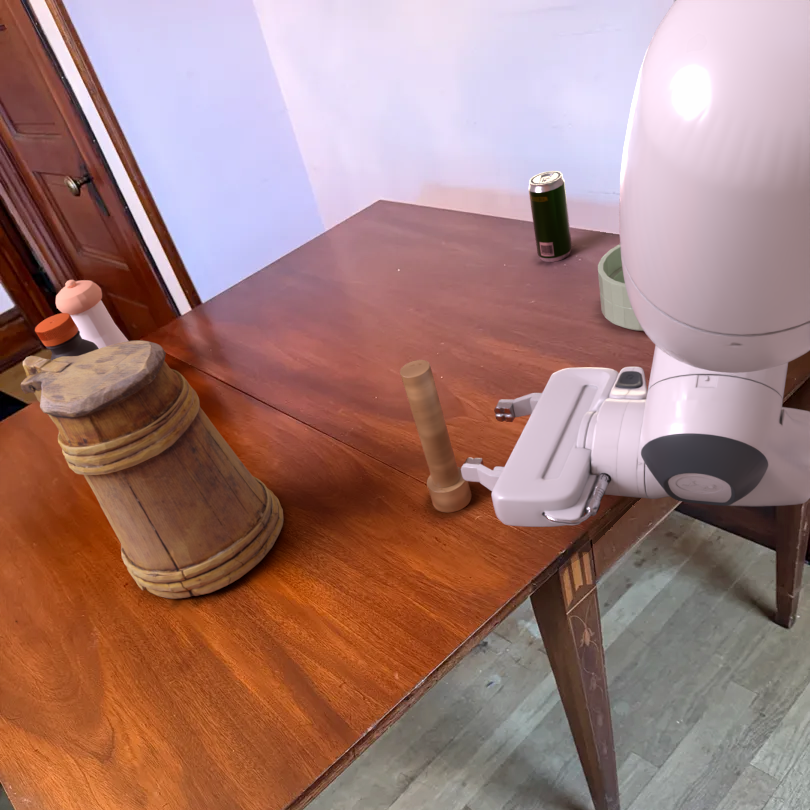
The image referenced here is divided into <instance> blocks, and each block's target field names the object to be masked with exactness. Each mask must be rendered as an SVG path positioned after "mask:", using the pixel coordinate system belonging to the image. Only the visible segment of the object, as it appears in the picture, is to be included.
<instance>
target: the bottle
mask: <svg viewBox="0 0 810 810" xmlns="http://www.w3.org/2000/svg"><path fill="white" fill-rule="evenodd" d="M34 332H35V334H36V335H37V337H38V339H39V340H40V341H41V343H42V344H43V346H45V348H46V349H47V350H50V352H51V357H50V360H54V359H56V358H59V357H65V356H80V355H83V354H86V353H89V352H91V351H94V350H97V349H99V348H98V347H97V345H96V344H95V343H93V342H91V341H88V340H85V339H82V338H81V336H80V331H79V330H78V327H77V326H76V324H75V322H74V321H73V319H72V318H71V316H70V314H68V313H62V312H60V313H57V314H53V315H50V316H49V317H47V318H45V319H44V320H42V321H41V322H39V323H38V324H37V325H36V326H35V327H34Z"/></svg>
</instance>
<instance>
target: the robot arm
mask: <svg viewBox="0 0 810 810" xmlns="http://www.w3.org/2000/svg"><path fill="white" fill-rule="evenodd" d="M651 37H652V38H651V40H650V42H649V44H648V47H647V49H646V51H645V55H644V56H643V60H642V63H641V66H640V69H639V72H638V77H637V81H636V85H635V88H634V93H633V98H632V101H631V106H630V111H629V116H628V122H627V128H626V133H625V139H624V144H623V151H622V158H621V165H620V166H621V168H620V177H619V200H618V231H619V244H620V248H621V260H622V268H623V275H624V281H625V286H626V290H627V294H628V297H629V301H630V304H631V306H632V309H633V311H634V314H635V316H636V318H637V320H638V322H639V324H640V325H641V327H642V329H643V330H644V331H643V332H644V333H645V335H646V336H647V337H648V338H649V340H650V341H651V342H652V343H653V344H654V352H653V357H652V363H651V370H650V374H649V380H648V386H647V381H646V375H645V370H644V368H643V367H640V366H625V367H623V368H622V369H620V371H619V372H618V371H617V370H616V369H613V368H611V367H598V366H597V367H594V366H589V367H587V366H584V367H583V366H582V367H581V366H580V367H578V366H577V367H565V368H562V369H559V370H557V371H555V372H553V373H551V375H550V377H549V379H548V381H547V382H546V385H545V387H544V389H543V390H542V392H532V393H528V394H525V395H523V396H522V395H521V396H520V397H517V398H514V399H509V398H508V399H504V398H503V399H502V398H501V399H499V400H498V402H497V404H496V405H495V407H494V410H493V412H494V415H495V419H496V420H497V421H498V422H506V423H513V422H514V420H515V418H521V417H526V416H529V418H528V420H527V421H526V424H525V426H524V427H523V430H522V431H521V434H520V436H519V438H518V440H517V441H516V442H515V445H514V447H513V450H512V451H511V452H510V455H509V457H508V458H507V461H506V463H505V465H504V466H499V465H497V466H494V467H493V469H491V468H489V467H487V466H485V464H484V460H483V458H482V457H474V458H473V457H471V456H470V457H467V458H466V459H465V461H464V463H463V464H462V466H461V467H460V468H461V473H462V477H463V479H464V480H466V481H468V482H473V483H480V484H481V485H482V486H483V487H485V488H486V489H487V490H489V491H491V500H492V506H493V510H494V513H495V516H496V519H498V520H499V521H500V522H501V523H502V524H503V525H505V526H510V527H523V528H525V527H526V528H552V527H564V526H579V525H581V523H583V522H586V521H587V520H588V519H589V518H591V517H594V516H596V515H597V514H598V512H599V511H600V508H601V502H602V499H603V498H604V496H605V495H606V496H615V497H616V496H618V497H629V498H637V499H638V498H639V499H648V500H649V499H650V500H657V499H662V498H669V497H670V498H671V499H673V500H675V501H678V502H683V503H689V504H697V505H699V504H700V505H709V506H722V507H723V506H724V507H725V506H729V507H783V506H795V505H803V504H805V503H807V502H808V501H809V500H810V410H805V409H800V408H799V409H798V408H794V407H786V406H783V400H784V395H785V387H786V380H787V373H788V366H789V363H790V362H792V361H794V360H796V359H798V358H800V357H802V356H803V355H805V354H807V353H809V352H810V0H675V1H674V2H673V3H672V5H671V6H670V8H669V9H668V11H667V12H666V14H665V15H664V16H663V18H662V20H661V21H660V23H659V24H658V26H657V28H656V30H655V32H654V33H653V36H651Z"/></svg>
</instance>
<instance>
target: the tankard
mask: <svg viewBox="0 0 810 810" xmlns="http://www.w3.org/2000/svg"><path fill="white" fill-rule="evenodd" d="M166 355H167V352H166V351H165V350H164V348H163V347H162V345H160V344H158V343H156V342H153V341H149V340H128V341H127V342H121V343H116V344H113V345H110V346H106V347H103V348H100V349H97V350H94V351H91V352H89V353H86V354H83V355H80V356H65V357H59V358H56V359H54V360H51V358H50V359H49V358H44V357H41V356H37V355H36V356H35V355H30V356H26V357H25V359H24V360H22V367H23V370H24V372H25V376H26V377H25V378H24V379H23V380H22V381H21V382H20V389H21V391H22V392H23V393H24V394H25V395H27V394H29V393H32V394H34V396H35V398H36V399H37V401H38V402H39V408H40V410H41V411H42V412H43V414H46V415H47V416H48V417H49V418H50V420H51V421H52V422H53V423H54V425H55V427H56V429H57V430H58V435H57V442H58V445H59V446H60V448H61V453H62V454H63V456H64V460H65V462H66V463H67V465H68V468H69V469H70V470H72V471H73V472H74V473H75V474H77V475H83V477H84V479H85V480H86V482H87V483H88V485H89V487H90V489H91V490H92V492H93V494H94V496H95V498H96V500H97V501H98V504H99V506H100V508H101V510H102V512H103V514H104V515H105V517H106V519H107V521H108V522H109V524H110V526H111V528H112V530H113V532H114V533H115V536H116V537H117V539H118V541H119V543H120V552H121V559H122V561H123V564H124V565H125V567H126V569H127V571H128V573H129V574H130V576H131V577H132V579H133V580H134V581H135V583H136V584H137V586H138V587H139V589H141V591H142V592H144V591H147V592H148V593H150V594H153V595H154V596H157V597H160V598H166V599H172V600H173V599H186V598H191V597H193V596H195V597H198V596H202V595H206V594H207V595H208V594H211V593H213V592H216V591H218V590H221V589H223V588H224V587H227V586H228V585H231V584H232V583H234V582H235V581H237V580H240V579H241V578H242V577H243V576H244V575H246V574H247V573H249V572H250V571H251V570H253V568H255V567H256V566H257V565H258V564H259V563H260V562H262V560H263V559H264V558H265V557H266V555H267V554H268V553H269V552H270V551H271V550H272V548H273V546H274V545H275V542H276V541H277V539H278V537H279V535H280V533H281V530H282V528H283V526H284V520H285V519H284V509H283V508H282V505H281V503H280V500H279V498H278V497H277V496H276V495H275V494H274V491H272V490H271V489H269V488H268V487H267V485H266V484H265V483H264V482H263V481H261V479H259V478H258V477H255V476H253V474H252V472H250V470H248V468H247V467H246V466H245V464H244V462H243V461H242V460H241V459H240V458H239V457H238V455H237V454H236V453H235V451H234V450H233V449H232V447H231V446H230V445H229V443H228V442H227V441H226V439H225V438H224V437H223V436H222V434H221V433H220V431H219V430H218V429H217V427H216V426H215V425H214V424H213V422H212V421H211V419H210V418H209V417H208V415H207V414H206V413H205V411H204V410H203V409H202V408H201V404H200V398H199V396H198V393H197V391H196V390H195V389H194V388H193V387H192V386H191V385H190V383H189V382H188V380H187V379H186V378H185V376H183V375H182V373H180V372H179V371H178V370H176V369H173V368H170V366H169V365H168V363H167V362H166Z"/></svg>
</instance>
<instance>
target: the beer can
mask: <svg viewBox="0 0 810 810" xmlns="http://www.w3.org/2000/svg"><path fill="white" fill-rule="evenodd" d="M528 184H529V185H528V196H529V197H528V198H529V202H530V203H529V204H530V209H531V217H532V224H533V232H534V239H535V246H536V253H537V257H539V259H540V261H542V262H546V263H554V262H558V261H562V260H564V259H566V258H567V257H569V255H570V254H571V251H572V248H573V246H572V236H571V227H570V217H569V208H568V200H567V191H566V189H567V188H566V181H565V179H564V177H563V173H562V171H559V170H549V171H544V172H540V173H538V174H535V175H534V176H532V177H531V178H530V179H529V181H528Z"/></svg>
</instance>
